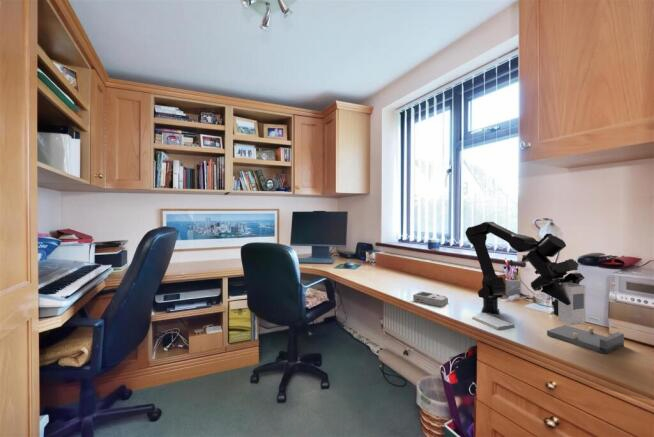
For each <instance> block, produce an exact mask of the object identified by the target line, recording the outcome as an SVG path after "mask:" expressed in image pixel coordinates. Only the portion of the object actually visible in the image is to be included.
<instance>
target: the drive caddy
mask: <svg viewBox="0 0 654 437" xmlns="http://www.w3.org/2000/svg"><path fill="white" fill-rule="evenodd" d="M559 288H560V289H561V291H562V292H563V294H564V295H565V296H566V298H567V299H568V300H569V302H570V304H569V305H566V304H564V303H562V302H561V301H559V300H557V301H558V303H557V304H558V309H557V310H558V314H557V317H558V322H560V323H563V324H565V325H568V326H576V325H581V324H586V285H584V284H580V283H579V284H575V283H566V284H559Z"/></svg>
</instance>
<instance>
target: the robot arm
mask: <svg viewBox="0 0 654 437" xmlns="http://www.w3.org/2000/svg"><path fill="white" fill-rule="evenodd" d="M464 234H465V236H466V238H467V241H468V242H469V243H470V244H471V245H472V246H473V248H474V252H475V254H476V257H477V260H478V263H479V266H480V270H481V273H482V276H483V277H482V281H481V284H482V287H481V289H480V290H478V291H477V296H478V297H479V298H482V299H483V300H482V303H483V304H482V308H481V312H484V313H488V314H496V315H499V313H500V309H499V299H501V298H502V299H503V297H504V294H505V292H506V286H507V285H506V284H505V282H504V281H505V280H504V278H503V277H502V276H500V277H499V276H498V275H497V274H496V271H495V268H494V265H493V262H492V259H491V257H490V253H489V250H488V248H487V245H486V243H487V239H488V236H487V235H489V234H491V235H494V236H496V237H497V238H499V239H501V240H502V241H505V242H506V243H508V244H509V246H510V247H511V248H512V249H513V250H514V251H516V252H517V253H527V254H522V258H521V262H522V263H527V262H529V263H530V265H531V266H532V267H533V268H534V270H535V271H534V274H536V275H539V276H537V277H536V278H535V279H533V280H532V281H530V287H531V288H532V290H533V291H534V292H537V291H540V292H541V293H543V294H545V295H548V296H550V297H551V298H553V299H556V300H557V301H558V300H559V301H561V302H562V303H564V304H566V305H569V304H570V302H569V300H568V299H567V298H566V296H565V295H564V294H563V292H562V291H561V289H560V288H559V284H566V283H575V284H580V282H582V281H583V280H584V279H585V277H584V276H583V274H582V273H580V272H571V271H578V270H579V269H578V268H579V265H580V264H579V262H577V261H576V260H574V259H573V258H568V259H565V260H564V261H560V262H556V261H555V262H554V261H553V262H552V261H551V259H550V258H553V257H555V256H556V255H557V254H558V253H560V252H561V251H562V250H563V249H565V248H566V246H567V245H566V243H565V241H564V240H563V239H561V238H559V237H558V236H556V235H553V234H552V233H546V234H544V235H543V237H542V238H541V239H539V240H537V239H536V238H534V237H532V236H529V235H524V234H519V233H515V232H513V231H511V230H509V229H507V228H505V227H503V226H502V225H499V224H498V223H496V222H494V221H483V222H482V223H479V224H476V225H473V226H468V227H467V229H466V230H465V233H464ZM568 272H570V273H568Z"/></svg>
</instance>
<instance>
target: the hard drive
mask: <svg viewBox="0 0 654 437" xmlns="http://www.w3.org/2000/svg"><path fill="white" fill-rule="evenodd" d="M471 318H472V320H475V321H476V322H478V323H481V324H484V325H486V326H487V327H491V328H492V327H493V328H492V329H494V330H497V331H501V330H506V329H512V328H513V329H514V328H515V327H516V326H515V324H513V323H510V322H508V321H505V320H503V319H501V318H497V317H495V316H493V315H491V314H481V315H480V314H479V315H474V316H472V317H471Z"/></svg>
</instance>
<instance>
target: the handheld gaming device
mask: <svg viewBox="0 0 654 437" xmlns="http://www.w3.org/2000/svg"><path fill="white" fill-rule="evenodd" d="M412 298H413V299H412V300H413V301H414V302H418V303H422V302H423V303H424V304H427V305H433V306H438V307H444V306H446V305H447V304H449V298H448V297H447V296H446V295H441V294H439V293H431V292H428V291H426V292H425V291H422V290H421V291H418V292H417V293H414V294H412ZM423 303H422V304H423Z"/></svg>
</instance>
